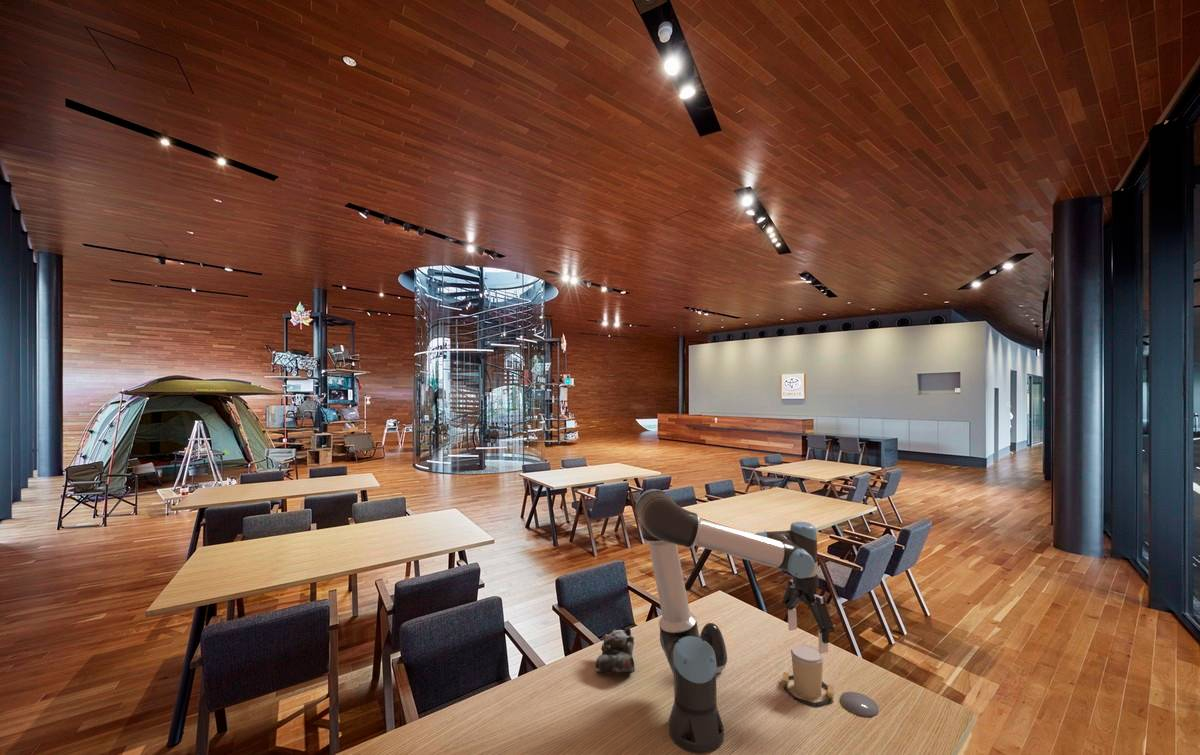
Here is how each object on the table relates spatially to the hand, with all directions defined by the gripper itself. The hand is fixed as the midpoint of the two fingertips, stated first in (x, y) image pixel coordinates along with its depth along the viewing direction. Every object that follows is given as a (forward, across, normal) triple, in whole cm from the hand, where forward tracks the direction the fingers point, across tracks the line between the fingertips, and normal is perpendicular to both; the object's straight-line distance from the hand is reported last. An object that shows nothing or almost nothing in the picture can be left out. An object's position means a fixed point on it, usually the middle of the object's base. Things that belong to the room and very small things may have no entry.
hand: (807, 640), depth 144 cm
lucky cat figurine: (+15, +29, +55) cm, 64 cm away
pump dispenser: (+16, +19, +24) cm, 34 cm away
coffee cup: (+16, 0, 0) cm, 16 cm away
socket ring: (+16, 0, 0) cm, 16 cm away
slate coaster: (+16, -10, -10) cm, 21 cm away
